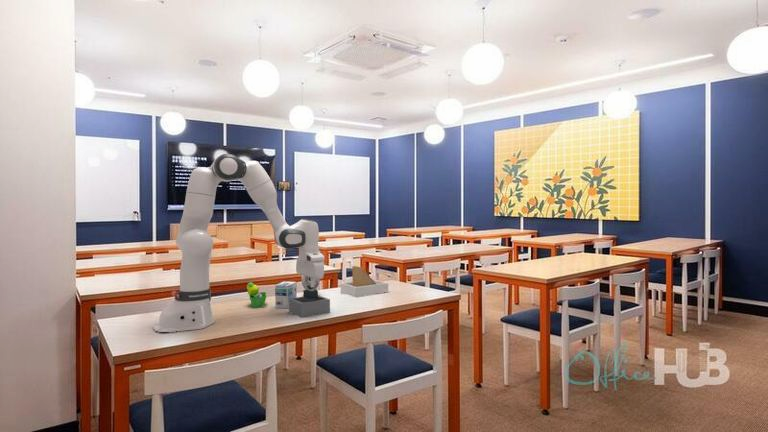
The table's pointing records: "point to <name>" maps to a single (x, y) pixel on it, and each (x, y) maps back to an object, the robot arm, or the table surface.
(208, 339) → the table surface
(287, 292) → the light bulb box
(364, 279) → the sandwich container
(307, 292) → the watch
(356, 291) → the light grey tray
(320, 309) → the crate
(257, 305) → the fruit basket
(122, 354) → the table surface
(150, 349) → the table surface
